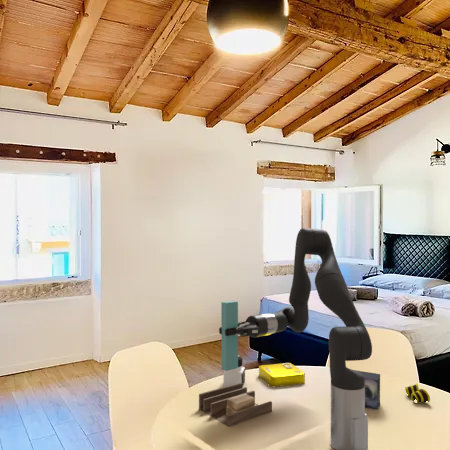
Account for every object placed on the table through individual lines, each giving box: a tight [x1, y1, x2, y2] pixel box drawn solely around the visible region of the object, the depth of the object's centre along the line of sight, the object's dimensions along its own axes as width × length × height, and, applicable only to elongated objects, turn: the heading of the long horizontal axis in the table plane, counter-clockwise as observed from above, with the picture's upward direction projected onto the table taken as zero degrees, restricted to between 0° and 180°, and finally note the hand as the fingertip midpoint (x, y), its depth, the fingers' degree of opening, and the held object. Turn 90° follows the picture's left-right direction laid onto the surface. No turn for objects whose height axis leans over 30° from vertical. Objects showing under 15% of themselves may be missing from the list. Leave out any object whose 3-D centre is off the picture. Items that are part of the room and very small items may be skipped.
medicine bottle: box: [222, 355, 246, 387], centre depth 167 cm, size 7×7×12 cm
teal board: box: [220, 300, 239, 371], centre depth 146 cm, size 2×5×22 cm, turn 128°
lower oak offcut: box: [226, 403, 257, 415], centre depth 140 cm, size 5×9×2 cm, turn 128°
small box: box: [354, 369, 381, 410], centre depth 153 cm, size 11×6×10 cm, turn 62°
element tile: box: [258, 362, 306, 388], centre depth 177 cm, size 15×15×5 cm
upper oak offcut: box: [227, 394, 256, 412], centre depth 140 cm, size 5×8×2 cm, turn 128°
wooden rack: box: [198, 382, 273, 427], centre depth 143 cm, size 16×18×6 cm
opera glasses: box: [405, 382, 431, 404], centre depth 157 cm, size 10×5×5 cm, turn 0°
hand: (222, 331), depth 144 cm, fingers closed on teal board, 2 cm apart
